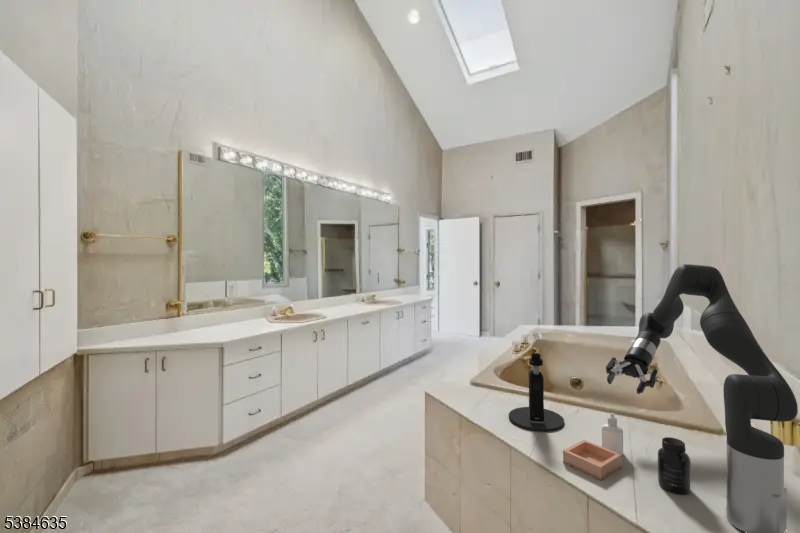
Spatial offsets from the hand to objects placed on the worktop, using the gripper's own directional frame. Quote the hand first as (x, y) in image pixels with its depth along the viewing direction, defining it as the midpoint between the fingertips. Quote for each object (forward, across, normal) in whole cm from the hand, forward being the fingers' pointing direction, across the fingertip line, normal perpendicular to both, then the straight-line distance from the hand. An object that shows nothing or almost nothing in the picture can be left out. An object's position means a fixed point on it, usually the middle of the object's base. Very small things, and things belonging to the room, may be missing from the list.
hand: (623, 387), depth 124 cm
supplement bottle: (+24, +20, +3) cm, 31 cm away
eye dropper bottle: (+19, +3, +8) cm, 21 cm away
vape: (+16, -24, +14) cm, 33 cm away
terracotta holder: (+29, +1, +3) cm, 29 cm away
